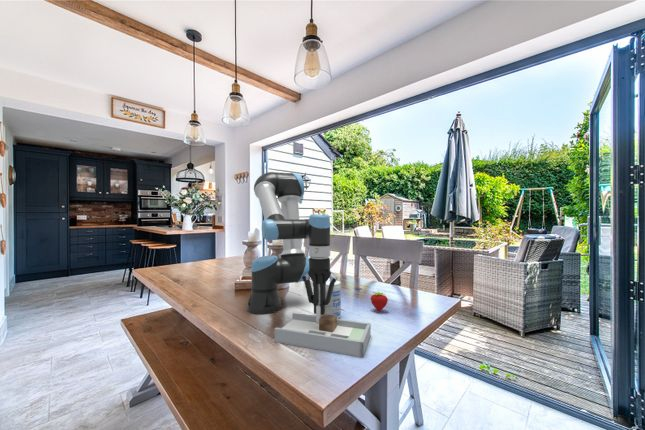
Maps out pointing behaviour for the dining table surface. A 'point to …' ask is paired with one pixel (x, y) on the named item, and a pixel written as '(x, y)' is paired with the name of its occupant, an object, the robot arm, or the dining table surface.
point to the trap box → (325, 335)
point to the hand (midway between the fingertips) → (319, 322)
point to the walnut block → (328, 323)
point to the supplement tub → (333, 300)
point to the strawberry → (379, 301)
